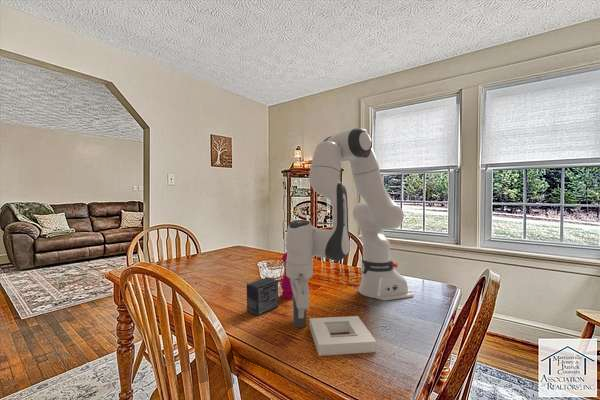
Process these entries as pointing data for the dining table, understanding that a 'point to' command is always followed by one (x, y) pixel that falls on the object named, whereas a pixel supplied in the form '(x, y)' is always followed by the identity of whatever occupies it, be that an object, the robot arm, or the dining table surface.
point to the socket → (341, 336)
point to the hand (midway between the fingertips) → (299, 311)
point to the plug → (296, 320)
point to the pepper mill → (286, 283)
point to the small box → (262, 296)
